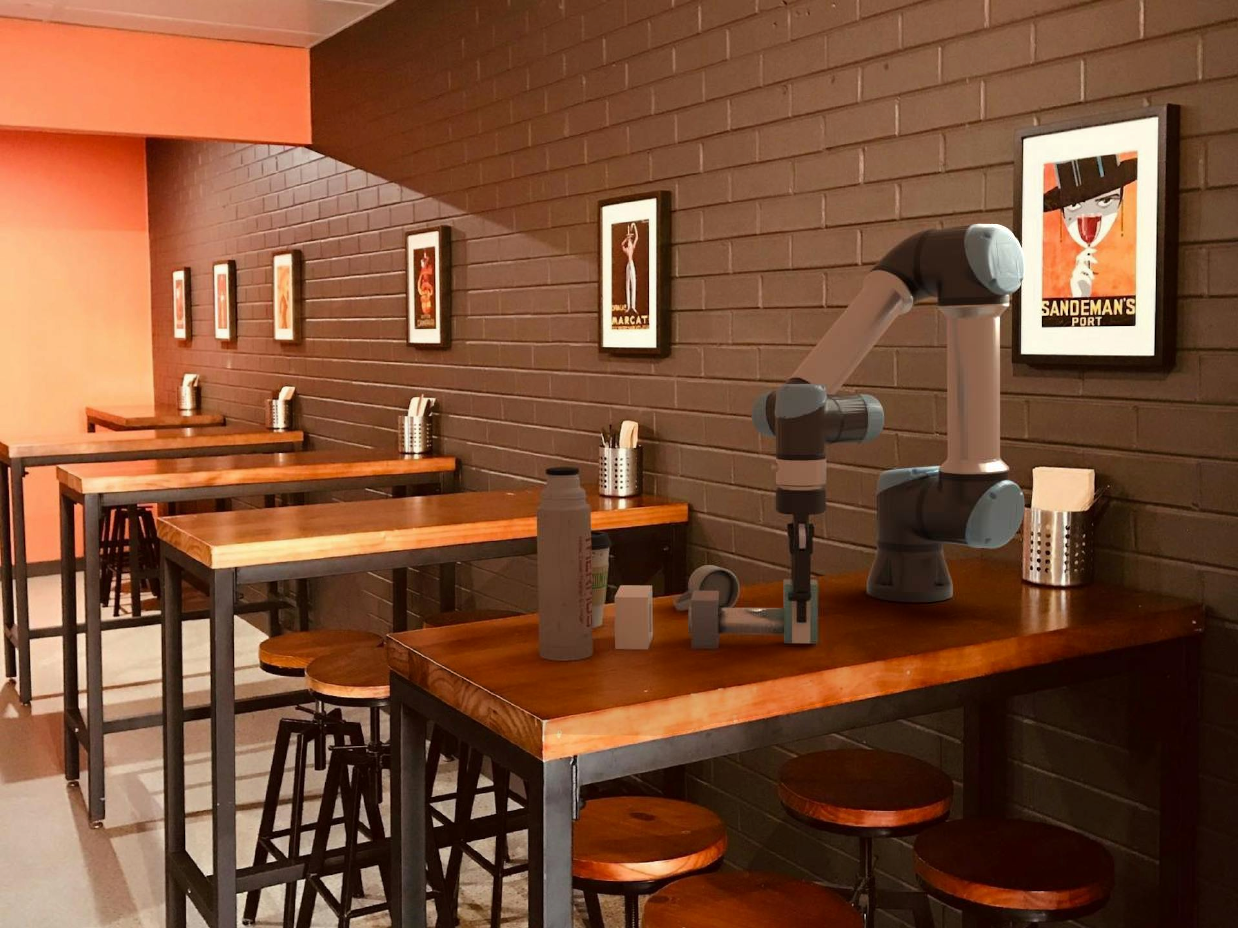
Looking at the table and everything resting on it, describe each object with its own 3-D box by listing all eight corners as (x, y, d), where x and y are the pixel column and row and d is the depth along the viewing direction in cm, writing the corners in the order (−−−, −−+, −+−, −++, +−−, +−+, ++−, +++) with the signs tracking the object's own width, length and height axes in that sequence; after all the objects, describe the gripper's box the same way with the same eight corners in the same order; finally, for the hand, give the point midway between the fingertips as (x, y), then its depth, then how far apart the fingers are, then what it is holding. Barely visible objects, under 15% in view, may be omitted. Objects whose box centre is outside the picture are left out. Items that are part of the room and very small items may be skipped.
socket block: (652, 635, 201) (652, 585, 200) (648, 649, 192) (647, 597, 191) (621, 635, 201) (620, 585, 200) (615, 648, 192) (614, 596, 191)
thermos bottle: (603, 651, 191) (600, 466, 188) (573, 663, 184) (570, 471, 181) (559, 645, 195) (556, 464, 192) (528, 656, 188) (524, 468, 185)
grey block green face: (816, 637, 196) (816, 579, 195) (817, 643, 192) (817, 584, 191) (689, 635, 198) (689, 578, 197) (688, 641, 194) (687, 583, 193)
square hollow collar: (719, 637, 199) (718, 590, 198) (718, 648, 192) (717, 600, 191) (693, 636, 199) (693, 590, 198) (691, 648, 192) (691, 600, 191)
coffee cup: (569, 633, 203) (567, 540, 201) (543, 621, 211) (542, 532, 210) (623, 626, 207) (622, 535, 206) (596, 615, 216) (595, 527, 214)
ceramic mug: (725, 602, 225) (724, 559, 224) (740, 611, 217) (739, 567, 217) (668, 606, 223) (666, 563, 222) (681, 616, 215) (680, 571, 214)
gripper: (774, 480, 200) (774, 625, 203) (776, 493, 183) (776, 652, 186) (822, 480, 200) (822, 626, 202) (829, 493, 183) (828, 652, 185)
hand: (800, 638), depth 194 cm, fingers closed on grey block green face, 4 cm apart
